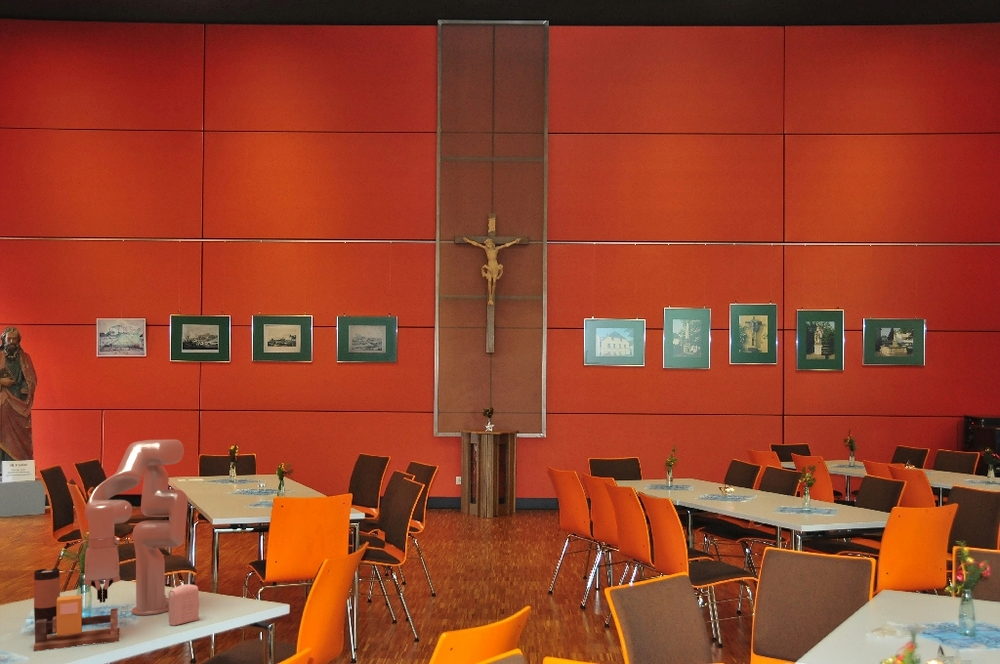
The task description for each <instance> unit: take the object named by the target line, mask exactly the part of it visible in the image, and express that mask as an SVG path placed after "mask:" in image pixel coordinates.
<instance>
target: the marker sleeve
mask: <svg viewBox="0 0 1000 664" xmlns="http://www.w3.org/2000/svg"><path fill="white" fill-rule="evenodd" d="M82 618H83V594H75V595H74V594H73V595H66V596H60V597H58V598H57V633H56V635H66V634H75V633H82V632H83V626H82Z"/></svg>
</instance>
